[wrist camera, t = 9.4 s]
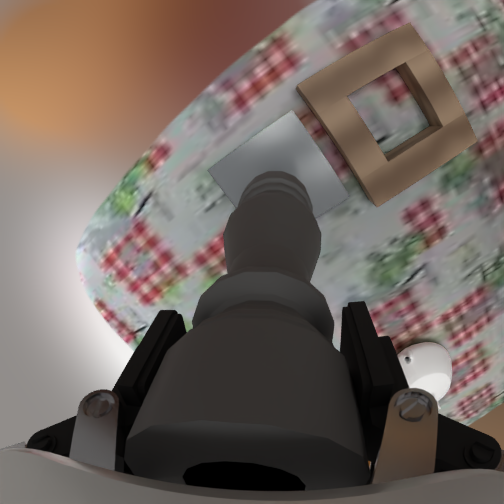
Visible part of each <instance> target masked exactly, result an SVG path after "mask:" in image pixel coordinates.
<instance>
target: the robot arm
mask: <svg viewBox="0 0 504 504" xmlns="http://www.w3.org/2000/svg"><path fill="white" fill-rule="evenodd" d="M186 333H187V332H186V329H185V325H184V321H183V317H182V315H181V314H178V313H177V311H176V310H160V311H159V313H158V314H157V316H156V318H155V319H154V321H153V323H152V324H151V326H150V328H149V329H148V331H147V333H146V334H145V336H144V338H143V339H142V341H141V343H140V344H139V345H138V347H137V348H136V350H135V351H134V353H133V355H132V357H131V358H130V360H129V362H128V363H127V365H126V367H125V369H124V370H123V372H122V374H121V376H120V377H119V379H118V381H117V382H116V384H115V386H114V388H113V390H112V391H110V390H96V391H93V392H91V393H89V394H88V395H87V396H85V397H84V398H83V399H82V401H81V402H80V405H79V407H78V413H77V416H74V417H72V418H69V419H67V420H65V421H62V422H60V423H58V424H55V425H53V426H50V427H48V428H46V429H43V430H40V431H38V432H36V433H35V434H34V435H33V436H32V437H31V438H30V439H29V441H28V443H27V444H26V443H25V442H21V443H18V444H15V445H12V446H9V447H5V448H2V449H0V504H504V450H501V448H500V445H499V443H498V442H497V441H496V440H495V439H494V438H493V437H491V436H489V435H487V434H484V433H482V432H480V431H477V430H475V429H473V428H470V427H468V426H466V425H463V424H461V423H459V422H457V421H454V420H452V419H450V418H448V417H445V416H443V415H441V414H439V413H438V404H437V401H436V399H435V398H434V396H433V395H431V394H430V393H429V392H427V391H425V390H423V389H419V388H409V385H408V382H407V380H406V377H405V374H404V372H403V369H402V366H401V364H400V361H399V359H398V356H397V354H396V351H395V349H394V346H393V344H392V341H391V339H390V337H389V336H382V337H378V335H377V333H376V330H375V327H374V325H373V322H372V319H371V317H370V314H369V311H368V309H367V306H366V304H365V302H364V301H361V302H349V303H348V307H343V309H342V327H341V344H340V353H342V354H343V355H344V356H345V359H346V362H347V364H348V367H349V370H350V372H351V375H352V378H353V382H354V387H355V392H356V397H357V403H358V408H359V413H360V416H361V421H362V427H363V432H364V438H365V444H366V450H367V456H368V461H370V466H369V469H370V478H369V480H368V481H367V483H366V485H363V486H355V487H347V488H337V489H325V490H309V491H244V490H228V489H216V488H206V487H197V486H190V485H183V484H176V483H170V482H164V481H158V480H153V479H148V478H143V477H138V476H135V475H134V474H133V472H132V471H131V469H130V468H129V466H128V465H127V463H126V462H125V460H124V454H125V446H126V440H127V437H128V435H129V433H130V431H131V428H132V426H133V424H134V422H135V419H136V417H137V415H138V413H139V410H140V408H141V406H142V404H143V402H144V399H145V397H146V395H147V393H148V391H149V389H150V386H151V384H152V382H153V380H154V378H155V376H156V373H157V371H158V369H159V367H160V365H161V363H162V361H163V359H164V356H165V354H166V352H167V350H168V349H169V348H171V347H172V346H173V345H174V344H175V343H176V342H177V341H178V340H179V339H181V338H182V337H183V336H184V335H185V334H186Z"/></svg>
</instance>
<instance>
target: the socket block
mask: <svg viewBox="0 0 504 504" xmlns="http://www.w3.org/2000/svg"><path fill="white" fill-rule="evenodd" d="M394 68H396V69H397V71H398V72H399V74H400V75H401V77H402V78H403V80H404V82H405V83H406V85H407V86H408V88H409V90H410V91H411V93H412V95H413V96H414V98H415V100H416V101H417V103H418V105H419V106H420V108H421V110H422V112H423V114H424V115H425V117H426V119H427V121H428V123H429V124H430V126H429V127H427V128H426V129H424V130H422V131H421V132H419V133H418V134H416V135H414V136H413V137H411V138H410V139H408V140H407V141H405V142H403V143H402V144H400V145H399V146H397V147H396V148H394V149H392V150H391V151H389V152H388V153H386V154H383V152H382V151H381V149H380V147H379V146H378V144H377V142H376V141H375V139H374V137H373V136H372V134H371V132H370V131H369V129H368V128H367V126H366V124H365V123H364V121H363V120H362V118H361V117H360V115H359V114H358V112H357V111H356V109H355V108H354V106H353V105H352V103H351V102H350V100H349V99H348V97H347V95H349V94H351V93H352V92H354V91H356V90H357V89H359V88H361V87H362V86H364V85H366V84H368V83H369V82H371V81H373V80H374V79H376V78H378V77H380V76H381V75H383V74H385V73H387V72H388V71H390V70H392V69H394ZM296 90H297V92H298V93H299V94H300V96H301V97H302V98H303V100H304V101H305V102H306V104H307V105H308V106H309V108H310V109H311V111H312V112H313V113H314V115H315V116H316V118H317V119H318V120H319V122H320V123H321V125H322V126H323V128H324V129H325V131H326V132H327V134H328V135H329V136H330V138H331V139H332V141H333V142H334V144H335V145H336V147H337V149H338V150H339V152H340V153H341V155H342V156H343V158H344V159H345V161H346V162H347V164H348V166H349V167H350V169H351V170H352V172H353V174H354V175H355V177H356V179H357V180H358V182H359V183H360V185H361V187H362V188H363V190H364V192H365V194H366V195H367V197H368V199H369V200H370V201H371V202H372V203H373V204H374V205H375V206H376V207H379V206H380V205H382V204H383V203H385V202H386V201H388V200H389V199H391V198H393V197H394V196H396V195H397V194H399V193H400V192H402V191H403V190H405V189H406V188H408V187H409V186H411V185H413V184H414V183H416V182H417V181H419V180H420V179H422V178H423V177H425V176H426V175H428V174H429V173H431V172H432V171H434V170H435V169H437V168H438V167H440V166H441V165H443V164H444V163H446V162H447V161H449V160H450V159H452V158H453V157H455V156H456V155H458V154H459V153H461V152H462V151H464V150H465V149H467V148H468V147H470V146H471V145H473V144H474V143H475V142H477V138H476V136H475V134H474V132H473V129H472V127H471V125H470V123H469V121H468V119H467V117H466V115H465V113H464V111H463V109H462V107H461V105H460V103H459V101H458V99H457V97H456V95H455V93H454V91H453V90H452V88H451V86H450V84H449V82H448V81H447V79H446V77H445V75H444V74H443V72H442V70H441V69H440V67H439V65H438V64H437V62H436V60H435V59H434V57H433V56H432V54H431V53H430V51H429V49H428V48H427V46H426V45H425V43H424V42H423V40H422V39H421V38H420V36H419V35H418V33H417V32H416V30H415V29H414V28H413V26H412V25H411V23H408V24H406V25H403V26H401V27H399V28H397V29H395V30H393V31H391V32H389V33H387V34H385V35H383V36H381V37H380V38H378V39H376V40H374V41H372V42H370V43H368V44H366V45H364V46H363V47H361V48H359V49H357V50H355V51H354V52H352V53H350V54H348V55H346V56H345V57H343V58H341V59H339V60H338V61H336V62H334V63H333V64H331V65H329V66H327V67H326V68H324V69H322V70H321V71H319V72H317V73H316V74H314V75H313V76H311V77H309V78H308V79H306V80H305V81H303V82H301V83H300V84H298V85H297V87H296Z"/></svg>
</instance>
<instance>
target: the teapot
mask: <svg viewBox="0 0 504 504" xmlns="http://www.w3.org/2000/svg"><path fill="white" fill-rule="evenodd" d="M397 356H398V359H399V361H400V364H401V366H402V369H403V372H404V374H405V377H406V380H407V382H408V385H409V388H419V389H423V390H425V391H427V392H429V393H430V394H431V395H433V396H434V398H435V399H436V401H437V404H438V409H441V408H440V405H439V403H438V401H439V400H440V399H441V398H442V397H443V396H444V395H445V394H446V393H447V391H448V390H449V387H450V384H451V379H452V365H451V358H450V355H449V353H448V351H447V350H446V349H445V348H444V347H443V346H441V345H439V344H437V343H433V342H423V343H418V344H414V345H411V346H409V347H407V348H405V349H404V350H402V351H401V352H400V353H399V354H398V355H397Z"/></svg>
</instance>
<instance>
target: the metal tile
mask: <svg viewBox="0 0 504 504" xmlns="http://www.w3.org/2000/svg"><path fill="white" fill-rule="evenodd" d="M267 171H283V172H286V173H288V174H291V175H293V176H295V177H296V178H297V179H298V180H299V181H300V182H301V183H302V184H303V185H304V186H305V188H306V190H307V193H308V195H309V197H310V200H311V203H312V206H313V214H314V217H315V218H317V217H319V216H320V215H322V214H323V213H325V212H326V211H328V210H330V209H331V208H333V207H334V206H336V205H337V204H339V203H341V202H342V201H344V200H345V199H347V198H348V197H350V195H349V194H348V192H347V190H346V189H345V187H344V186H343V184H342V182H341V181H340V179H339V178H338V176H337V175H336V173H335V171H334V170H333V168H332V167H331V165H330V164H329V162H328V161H327V159H326V158H325V156H324V155H323V153H322V152H321V150H320V149H319V147H318V146H317V144H316V143H315V141H314V140H313V139H312V137H311V136H310V134H309V133H308V131H307V130H306V129H305V127H304V126H303V124H302V123H301V122H300V120H299V119H298V117H297V116H296V115H295V113H294V112H293V111H290V112H289V113H287V114H286V115H284V116H283V117H281V118H280V119H278V120H277V121H275V122H274V123H272V124H271V125H269V126H268V127H266V128H265V129H264V130H262V131H261V132H259V133H258V134H256V135H255V136H254V137H252V138H251V139H249V140H248V141H246V142H245V143H244V144H242V145H241V146H239V147H238V148H237V149H235V150H234V151H233V152H231V153H230V154H228V155H227V156H226V157H224V158H223V159H222V160H220V161H219V162H218V163H216V164H215V165H214V166H212V167H211V168H210V169H208V172H209V173H210V174H211V176H212V177H213V178H214V179H215V181H216V182H217V183H218V185H219V186H220V187H221V189H222V190H223V191H224V193H225V194H226V195H227V197H228V198H229V199H230V201H231V202H232V203H233V205H234V206H235V207H236V208H237V206H238V203H239V201H240V198H241V195H242V193H243V191H244V190H245V188H246V186H247V185H248V184H249V183H250V182H251V181H252V180H253V179H254V178H255V177H256V176H258V175H260V174H263V173H265V172H267Z"/></svg>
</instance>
